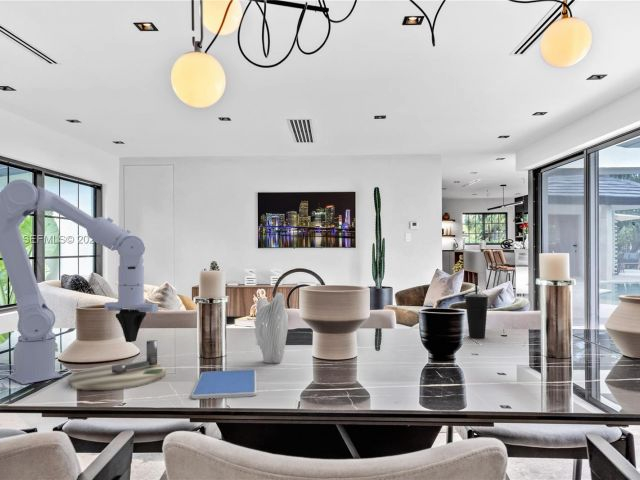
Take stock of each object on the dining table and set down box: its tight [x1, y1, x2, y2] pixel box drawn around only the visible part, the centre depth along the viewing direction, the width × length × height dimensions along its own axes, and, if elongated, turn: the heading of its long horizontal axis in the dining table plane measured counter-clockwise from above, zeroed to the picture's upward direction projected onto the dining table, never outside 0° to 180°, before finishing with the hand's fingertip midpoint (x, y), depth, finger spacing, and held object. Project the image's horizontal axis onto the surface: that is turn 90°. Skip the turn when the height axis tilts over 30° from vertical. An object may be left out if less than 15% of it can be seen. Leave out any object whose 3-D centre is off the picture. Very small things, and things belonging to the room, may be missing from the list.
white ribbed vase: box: [254, 292, 289, 364], centre depth 119 cm, size 8×8×18 cm
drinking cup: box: [464, 275, 490, 340], centre depth 152 cm, size 8×8×20 cm
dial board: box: [67, 362, 167, 391], centre depth 104 cm, size 20×20×1 cm
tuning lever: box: [112, 339, 158, 373], centre depth 107 cm, size 11×3×6 cm, turn 140°
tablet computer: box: [190, 369, 258, 400], centre depth 99 cm, size 19×13×1 cm, turn 8°
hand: (130, 341), depth 112 cm, fingers closed
